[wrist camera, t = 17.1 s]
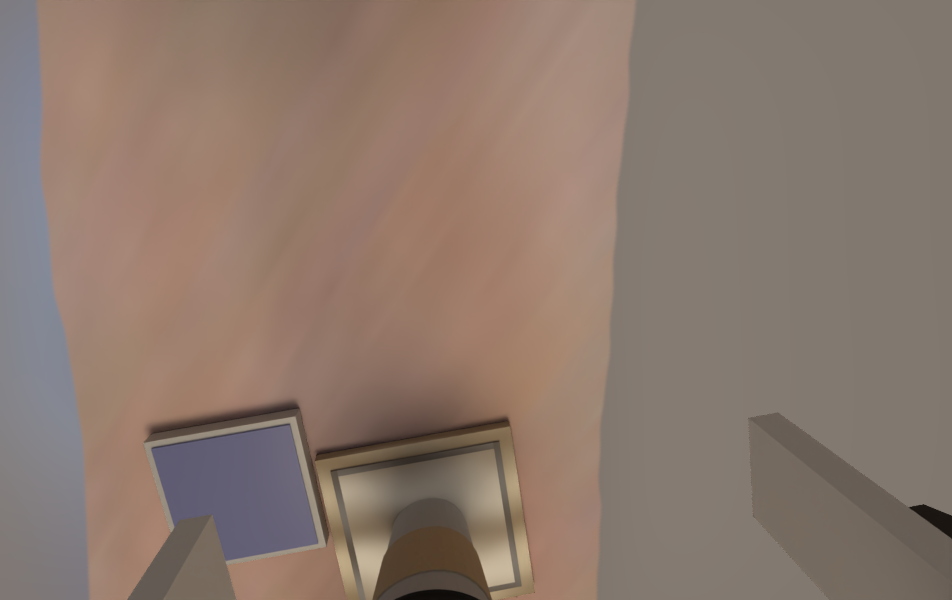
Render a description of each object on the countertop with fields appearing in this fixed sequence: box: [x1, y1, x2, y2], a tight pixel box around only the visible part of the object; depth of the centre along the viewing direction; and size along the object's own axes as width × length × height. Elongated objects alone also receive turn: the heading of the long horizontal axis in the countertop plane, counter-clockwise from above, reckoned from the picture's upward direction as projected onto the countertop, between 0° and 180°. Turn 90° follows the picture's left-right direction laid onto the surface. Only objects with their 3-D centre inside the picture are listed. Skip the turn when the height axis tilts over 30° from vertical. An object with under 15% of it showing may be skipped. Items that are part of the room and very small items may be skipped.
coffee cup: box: [372, 498, 492, 600], centre depth 42 cm, size 9×9×15 cm
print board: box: [315, 421, 535, 600], centre depth 50 cm, size 15×15×1 cm
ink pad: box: [143, 408, 329, 565], centre depth 48 cm, size 11×11×2 cm
